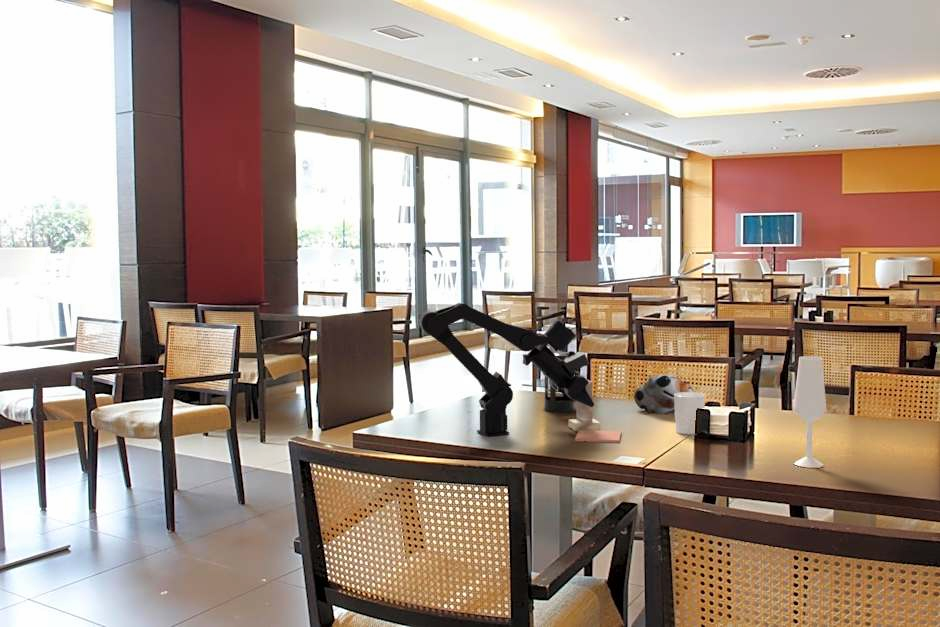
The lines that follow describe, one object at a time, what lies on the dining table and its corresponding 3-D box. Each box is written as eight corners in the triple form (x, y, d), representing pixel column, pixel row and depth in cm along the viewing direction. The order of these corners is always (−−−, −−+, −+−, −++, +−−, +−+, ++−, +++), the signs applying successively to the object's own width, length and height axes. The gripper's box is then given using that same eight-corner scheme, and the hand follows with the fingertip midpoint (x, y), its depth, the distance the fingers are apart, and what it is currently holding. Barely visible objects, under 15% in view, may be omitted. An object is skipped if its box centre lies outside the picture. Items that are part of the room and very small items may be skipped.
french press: (536, 410, 266) (535, 334, 264) (550, 405, 274) (549, 331, 272) (572, 414, 259) (571, 335, 258) (585, 408, 267) (585, 332, 266)
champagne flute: (817, 461, 200) (819, 355, 198) (830, 468, 194) (832, 359, 192) (787, 461, 200) (789, 356, 198) (799, 469, 193) (801, 359, 192)
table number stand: (575, 431, 235) (575, 382, 234) (568, 426, 241) (568, 379, 240) (600, 430, 236) (600, 381, 235) (593, 425, 242) (593, 378, 241)
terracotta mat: (574, 441, 224) (575, 438, 224) (579, 432, 234) (579, 429, 234) (619, 442, 221) (619, 440, 221) (621, 433, 232) (621, 431, 232)
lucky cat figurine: (676, 405, 270) (694, 368, 264) (681, 428, 259) (700, 390, 253) (629, 392, 269) (646, 354, 263) (633, 415, 258) (650, 376, 252)
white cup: (702, 429, 236) (702, 392, 235) (707, 435, 228) (707, 397, 228) (671, 428, 237) (672, 391, 236) (675, 435, 229) (676, 396, 228)
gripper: (581, 346, 227) (621, 387, 230) (560, 338, 245) (598, 376, 248) (551, 377, 226) (592, 418, 229) (532, 368, 244) (571, 406, 247)
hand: (589, 403), depth 238 cm, fingers closed on table number stand, 6 cm apart
